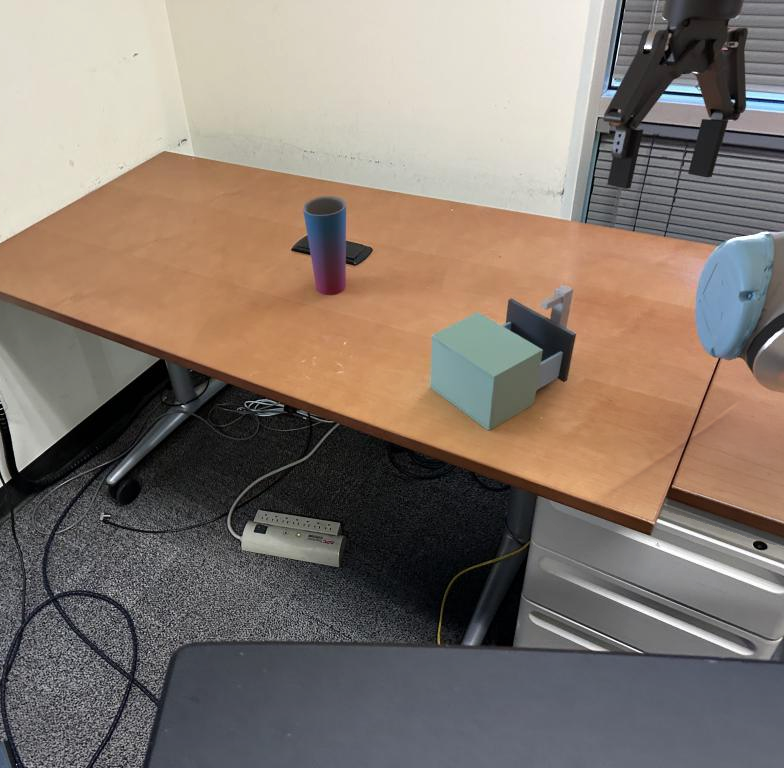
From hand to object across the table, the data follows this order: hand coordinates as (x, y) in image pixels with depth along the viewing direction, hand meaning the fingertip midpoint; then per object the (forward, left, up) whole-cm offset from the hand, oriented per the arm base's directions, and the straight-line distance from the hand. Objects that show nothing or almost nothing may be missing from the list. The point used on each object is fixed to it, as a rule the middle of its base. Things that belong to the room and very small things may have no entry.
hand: (660, 181), depth 83 cm
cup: (+23, +39, -23) cm, 51 cm away
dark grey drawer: (-5, +15, -22) cm, 28 cm away
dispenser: (-9, +23, -23) cm, 34 cm away
